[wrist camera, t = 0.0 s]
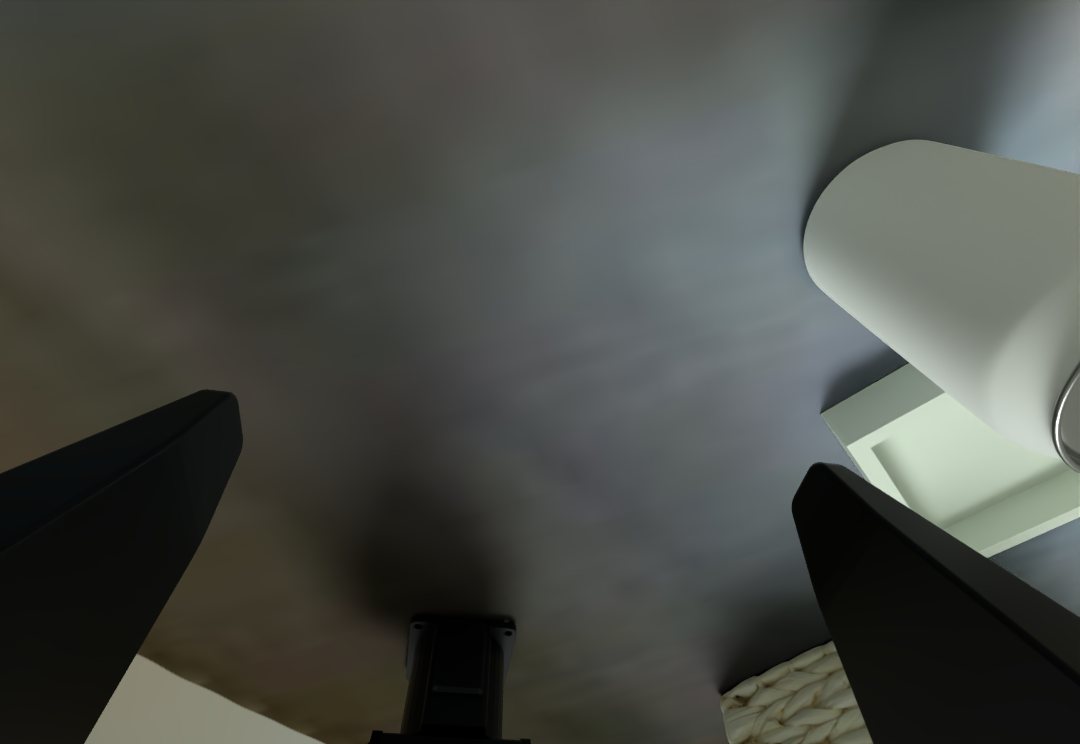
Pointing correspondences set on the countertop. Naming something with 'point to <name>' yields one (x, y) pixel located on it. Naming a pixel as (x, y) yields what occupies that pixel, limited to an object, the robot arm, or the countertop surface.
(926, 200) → the can
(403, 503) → the countertop surface
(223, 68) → the countertop surface
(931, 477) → the tray
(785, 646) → the countertop surface
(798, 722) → the storage basket
